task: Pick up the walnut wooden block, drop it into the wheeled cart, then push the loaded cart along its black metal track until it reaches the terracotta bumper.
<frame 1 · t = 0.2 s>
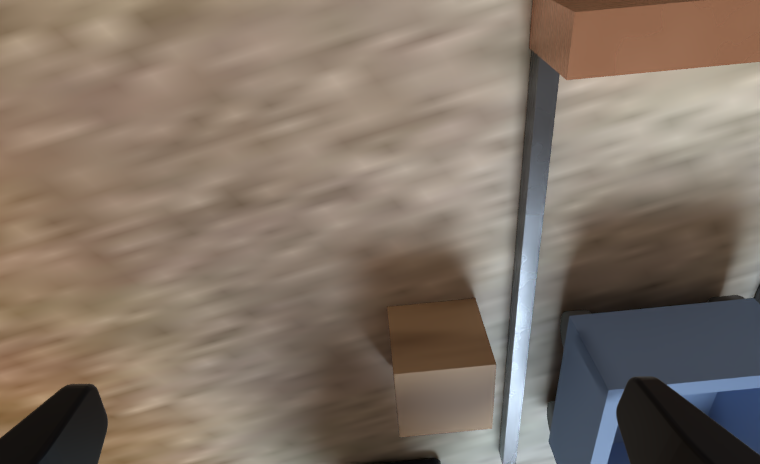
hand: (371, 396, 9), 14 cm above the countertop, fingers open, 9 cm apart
track: (647, 278, 26), on the countertop
cart: (655, 401, 27), point 3 cm above the countertop, slide at 0.0 cm
block: (431, 333, 28), on the countertop
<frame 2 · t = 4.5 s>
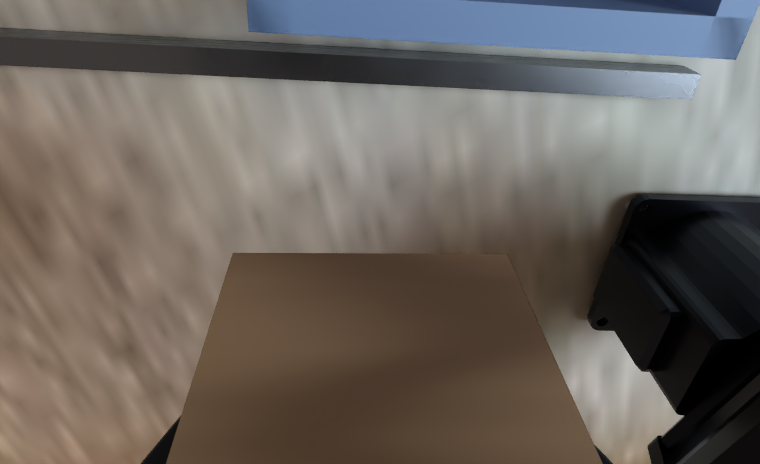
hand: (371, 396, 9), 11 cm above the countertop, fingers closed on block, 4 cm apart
block: (368, 352, 10), point 10 cm above the countertop, touching gripper
when the fingers open (6 cm above the countertop, at t = 6.0 s): block drops 3 cm, resting on cart.
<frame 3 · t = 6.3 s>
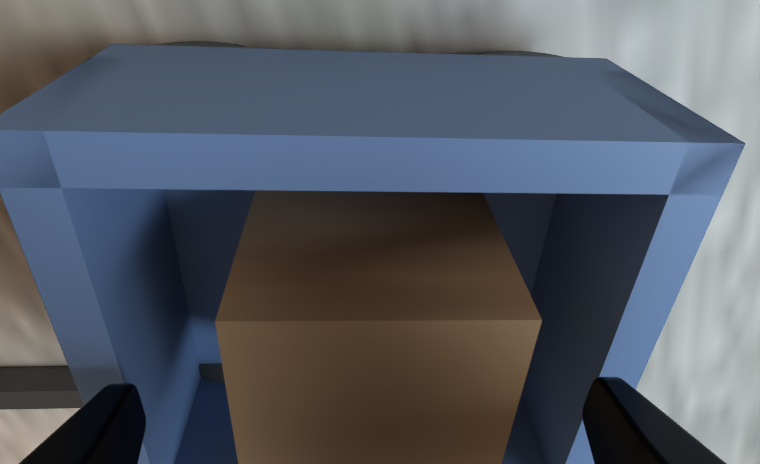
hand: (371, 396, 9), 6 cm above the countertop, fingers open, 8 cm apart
track: (154, 203, 14), on the countertop
cart: (364, 276, 12), point 3 cm above the countertop, slide at 0.0 cm, touching block
block: (365, 261, 12), point 3 cm above the countertop, touching cart
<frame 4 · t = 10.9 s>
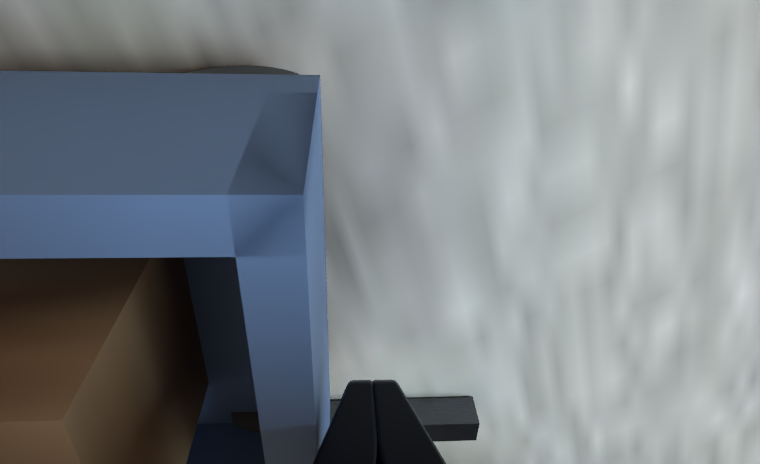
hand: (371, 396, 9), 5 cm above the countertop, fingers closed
cart: (63, 328, 10), point 3 cm above the countertop, slide at 1.5 cm, touching block, gripper
block: (80, 309, 11), point 3 cm above the countertop, touching cart
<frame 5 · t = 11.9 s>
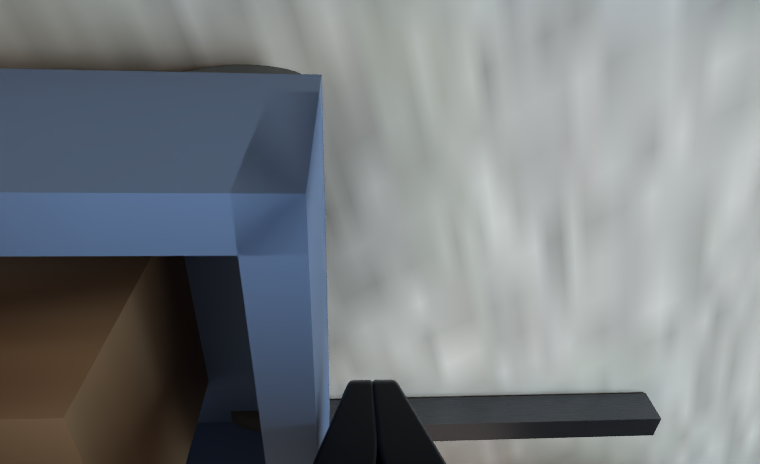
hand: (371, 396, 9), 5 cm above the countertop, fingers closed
track: (195, 237, 13), on the countertop
cart: (64, 327, 10), point 3 cm above the countertop, slide at 7.2 cm, touching block, gripper
block: (80, 307, 11), point 3 cm above the countertop, touching cart
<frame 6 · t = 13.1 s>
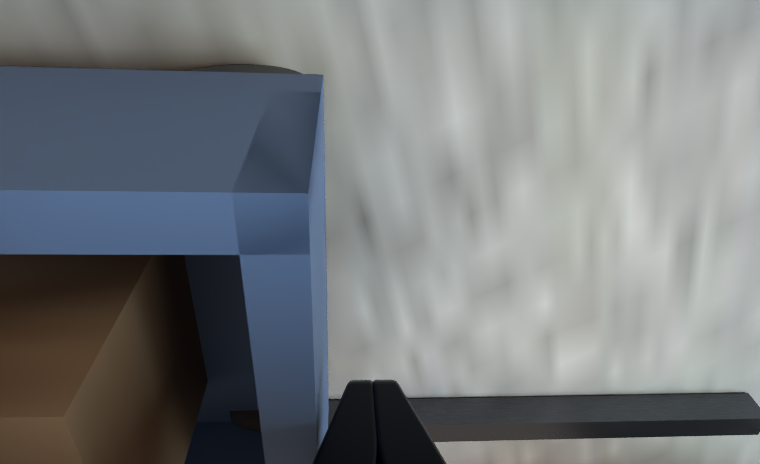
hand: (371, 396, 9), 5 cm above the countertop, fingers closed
track: (341, 237, 13), on the countertop
cart: (63, 325, 10), point 3 cm above the countertop, slide at 10.8 cm, touching block, gripper
block: (80, 306, 11), point 3 cm above the countertop, touching cart
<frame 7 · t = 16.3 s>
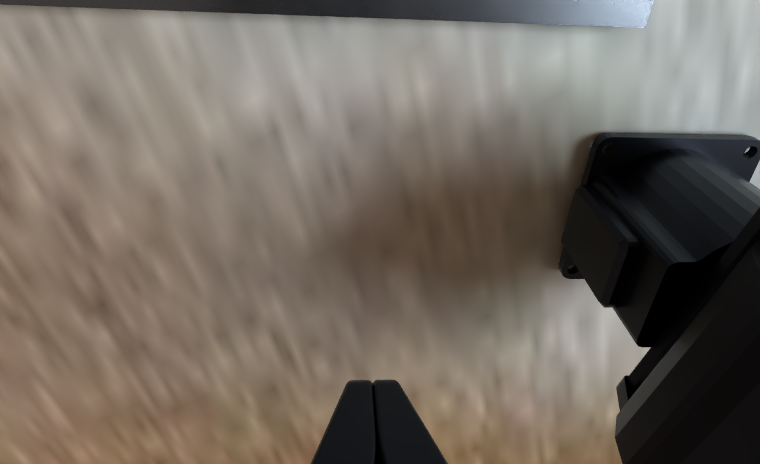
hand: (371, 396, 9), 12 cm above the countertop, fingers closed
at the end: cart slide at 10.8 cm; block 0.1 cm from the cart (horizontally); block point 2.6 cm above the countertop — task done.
